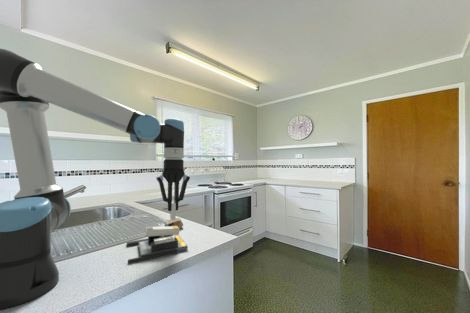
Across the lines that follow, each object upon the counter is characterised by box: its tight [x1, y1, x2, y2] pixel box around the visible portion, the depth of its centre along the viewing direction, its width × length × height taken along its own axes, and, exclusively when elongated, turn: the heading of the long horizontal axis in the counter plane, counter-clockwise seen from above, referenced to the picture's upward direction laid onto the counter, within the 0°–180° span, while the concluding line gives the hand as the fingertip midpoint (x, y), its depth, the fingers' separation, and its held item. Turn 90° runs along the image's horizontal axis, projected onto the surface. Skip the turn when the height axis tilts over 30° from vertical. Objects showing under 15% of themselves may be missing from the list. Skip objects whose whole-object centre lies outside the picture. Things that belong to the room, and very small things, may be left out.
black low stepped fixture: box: [126, 237, 178, 265], centre depth 82 cm, size 18×18×1 cm
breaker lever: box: [144, 225, 180, 237], centre depth 82 cm, size 12×3×3 cm, turn 118°
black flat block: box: [137, 234, 189, 257], centre depth 82 cm, size 16×13×5 cm
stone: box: [164, 217, 184, 230], centre depth 107 cm, size 8×10×4 cm
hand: (172, 218), depth 84 cm, fingers closed
